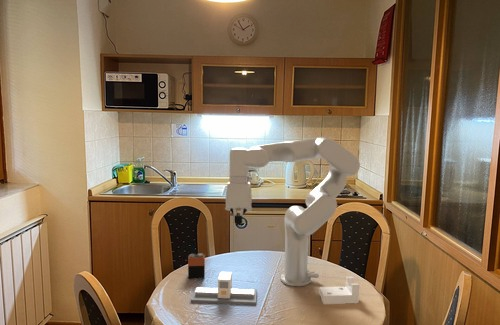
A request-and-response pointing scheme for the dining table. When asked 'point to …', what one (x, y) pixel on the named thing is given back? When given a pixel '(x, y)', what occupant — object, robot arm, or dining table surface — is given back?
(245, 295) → the rail
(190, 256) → the battery
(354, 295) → the bracket
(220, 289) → the block
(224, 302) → the mounting plate
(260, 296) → the dining table surface
